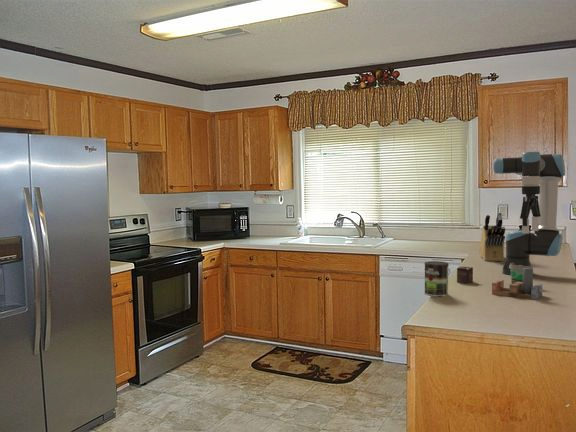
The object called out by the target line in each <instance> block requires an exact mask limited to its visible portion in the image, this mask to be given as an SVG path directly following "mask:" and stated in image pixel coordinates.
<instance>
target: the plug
mask: <svg viewBox="0 0 576 432" xmlns="http://www.w3.org/2000/svg"><path fill="white" fill-rule="evenodd" d="M533 286H534V269H532V268H523V294H530V295H531V287H533Z"/></svg>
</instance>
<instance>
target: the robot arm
mask: <svg viewBox="0 0 576 432" xmlns="http://www.w3.org/2000/svg"><path fill="white" fill-rule="evenodd" d="M565 164H566V163H565V160H564V156H563V155H562V154H561V153H560V154H559V153H549V154H541V153H540V151H524V152H522V156H518V157H500V158H499V157H498V158H495V159H494V161H493V164H492V165H493V167H492V168H493V172H494V173H495V174H499V175H500V174H501V175H504V174H515V175H519V176H521V178H520V181H521V185H522V187H521V194H522V195H525V196H523V197H522V204H521V205H522V206H521V210H520V216H519V219H521V222H522V223H521V230H515V231H514V230H513V231H512V230H511V231H509V232H507V233H506V236H505V243H506V244H505V260H504V263H503V266H502V268H501V269H502V273H503V274H505V275H509V276H511V270H510V268H509V265H510V263H514V265H523V266H532V263H531V260H530V256H545V257H556V256H558V255H559V254H560V252H561V249H562V244H563V234H561V233H560V230H559V229H558V227H557V217H558V216H557V214H558V213H557V212H558V197H559V196H558V195H559V193H558V192H559V183H560V182H561V181H562V177H565V176H566V166H565ZM530 212H531V214H532V216H531V230H530V218H529V217H530ZM531 231H534V232H531Z"/></svg>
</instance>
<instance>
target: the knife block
mask: <svg viewBox="0 0 576 432" xmlns="http://www.w3.org/2000/svg"><path fill="white" fill-rule="evenodd" d="M496 214H497V215H496V219H495V225H489V223H490V220H491V216H490V215H489V214H487V215H485V219H484V225H483V227H482V230H481V231H482V232H481V238H480V242H479V243H480V244H479V249H478V254H479V256H480V257H481V258H482V259H483V260H484V261H485V262H490V261H492V262H493V261H498V262H503V261H505V260H504V255H505V253H504V251H505V250H504V249H505V248H504V243H505V241H506V236H505V233H506V227H505V226H503V217H502V212H500V211H499V212H497V213H496Z"/></svg>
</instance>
